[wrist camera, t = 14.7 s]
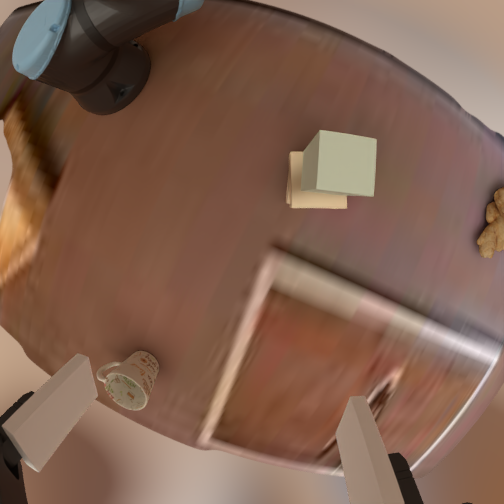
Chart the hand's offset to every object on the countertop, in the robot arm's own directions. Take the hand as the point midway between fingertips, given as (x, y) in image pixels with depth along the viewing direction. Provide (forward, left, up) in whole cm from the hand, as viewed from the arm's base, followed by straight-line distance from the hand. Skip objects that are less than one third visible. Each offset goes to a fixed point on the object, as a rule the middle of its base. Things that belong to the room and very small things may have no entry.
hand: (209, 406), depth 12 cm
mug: (+24, -21, -33) cm, 46 cm away
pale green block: (-13, +8, -25) cm, 29 cm away
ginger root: (-13, +48, -33) cm, 60 cm away
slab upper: (-12, +8, -29) cm, 32 cm away
